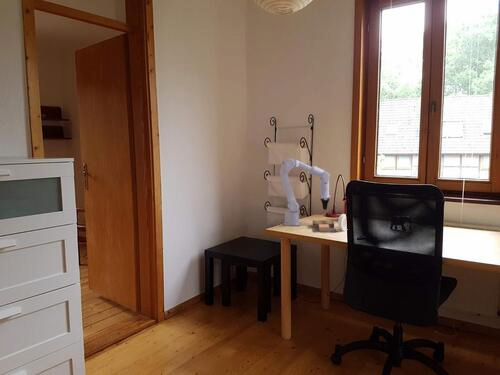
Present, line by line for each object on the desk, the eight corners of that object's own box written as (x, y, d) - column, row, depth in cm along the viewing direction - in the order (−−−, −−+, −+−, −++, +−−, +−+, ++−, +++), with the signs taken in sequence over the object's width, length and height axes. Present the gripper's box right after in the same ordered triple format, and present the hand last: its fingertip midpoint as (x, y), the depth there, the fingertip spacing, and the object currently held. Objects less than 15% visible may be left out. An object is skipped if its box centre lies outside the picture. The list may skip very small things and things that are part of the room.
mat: (313, 232, 235) (313, 231, 235) (312, 228, 244) (312, 228, 244) (336, 232, 233) (336, 231, 233) (335, 228, 243) (335, 228, 243)
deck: (313, 228, 245) (313, 223, 245) (312, 224, 256) (312, 220, 256) (334, 228, 244) (334, 223, 243) (332, 224, 255) (332, 220, 254)
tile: (319, 231, 235) (319, 227, 235) (318, 228, 244) (318, 224, 244) (329, 231, 234) (329, 227, 234) (328, 228, 243) (328, 224, 243)
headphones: (341, 232, 232) (341, 215, 231) (338, 231, 234) (338, 215, 233) (358, 226, 249) (358, 210, 248) (354, 225, 250) (354, 210, 249)
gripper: (331, 190, 251) (332, 211, 252) (329, 187, 265) (330, 207, 266) (320, 190, 252) (320, 211, 253) (319, 188, 266) (319, 207, 267)
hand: (324, 209), depth 260 cm, fingers closed
